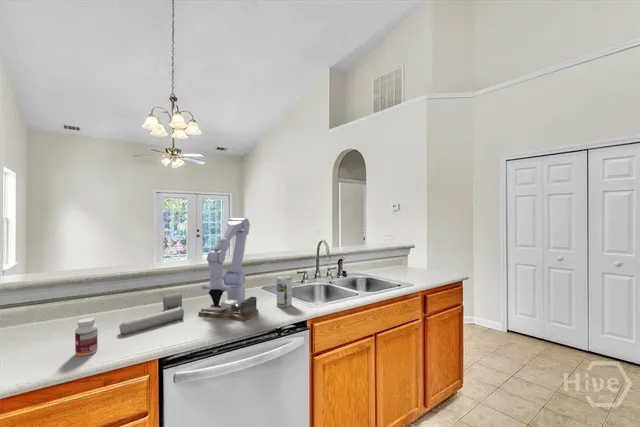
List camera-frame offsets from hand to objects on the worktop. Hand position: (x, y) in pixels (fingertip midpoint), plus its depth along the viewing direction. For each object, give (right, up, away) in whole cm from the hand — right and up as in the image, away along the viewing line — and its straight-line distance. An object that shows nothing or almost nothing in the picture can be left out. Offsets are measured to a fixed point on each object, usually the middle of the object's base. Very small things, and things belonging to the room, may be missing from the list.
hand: (216, 305), depth 155 cm
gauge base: (+6, -3, -2) cm, 8 cm away
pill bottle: (-31, -4, -43) cm, 53 cm away
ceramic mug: (-22, -4, +4) cm, 23 cm away
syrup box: (+30, -4, +11) cm, 33 cm away
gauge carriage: (+8, -2, -4) cm, 9 cm away
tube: (-21, -4, -17) cm, 27 cm away
